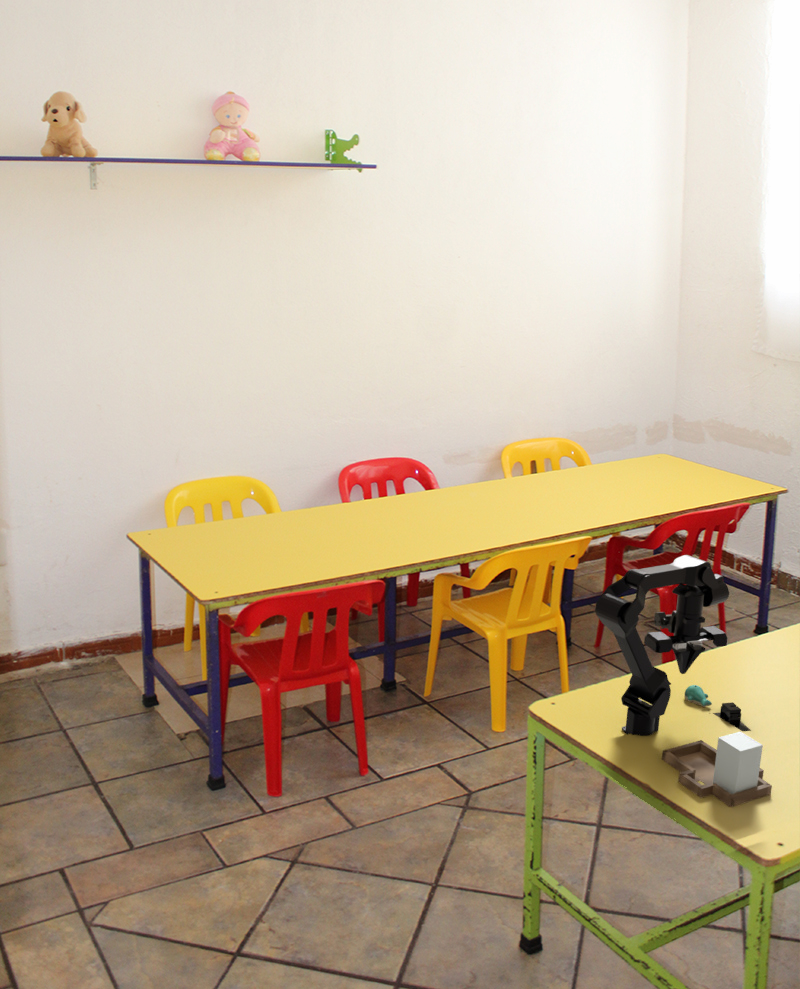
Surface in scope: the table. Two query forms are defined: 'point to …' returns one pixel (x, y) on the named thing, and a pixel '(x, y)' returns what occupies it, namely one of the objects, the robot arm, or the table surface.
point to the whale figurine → (697, 696)
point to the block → (737, 762)
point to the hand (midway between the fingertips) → (682, 673)
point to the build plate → (732, 716)
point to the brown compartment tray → (708, 773)
